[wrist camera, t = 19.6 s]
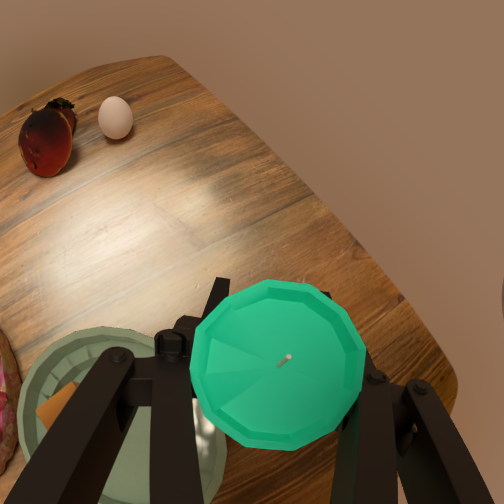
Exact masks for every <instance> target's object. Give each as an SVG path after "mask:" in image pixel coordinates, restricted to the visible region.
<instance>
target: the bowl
mask: <svg viewBox="0 0 504 504" xmlns="http://www.w3.org/2000/svg"><path fill="white" fill-rule="evenodd" d="M116 346H119V347H125V348H128V349H130V350H131V351H132V352H133V354H134V356H135V357H136V358H144V357H152V356H155V347H154V339H153V338H151V337H148V336H146V335H143V334H141V333H138V332H136V331H134V330H131V329H121V328H112V327H104V326H101V327H96V328H90V329H85V330H79V331H75V332H73V333H71V334H69V335H67V336H65V337H63V338H62V339H60V340H58V341H56V342H54V343H52V344H51V345H50V346H49V347H48V348H47V349H46V350H45V351H44V352H43V353H42V354H41V355H40V356H39V357H38V358H37V359H36V360H35V361H34V363H33V364H32V366H31V368H30V370H29V372H28V374H27V376H26V378H25V380H24V382H23V384H22V387H21V392H20V397H19V402H18V408H17V425H18V435H19V442H20V445H21V448H22V451H23V454H24V457H25V460H26V462H27V463H28V461H29V460H30V458H31V457H32V455H33V453H34V452H35V450H36V449H37V447H38V446H39V444H40V442H41V441H42V439H43V438H44V436H45V435H46V433H47V432H48V431H47V429H46V428H45V426H44V424H43V423H42V421H41V420H40V418H39V416H38V414H37V413H36V411H35V410H36V409H37V408H38V407H40V406H41V405H42V404H43V403H45V402H46V401H47V400H48V399H50V398H51V397H52V396H53V395H55V394H56V393H57V392H59V391H60V390H61V389H62V388H64V387H65V386H66V385H67V384H69V383H70V382H71V381H74V382H79V383H81V381H82V380H83V379H84V377H85V376H86V374H87V373H88V371H89V370H90V369H91V367H92V366H93V364H94V363H95V362H96V360H97V359H98V358H99V356H100V355H101V353H102V352H103V351H104V350H106V349H108V348H110V347H116ZM192 402H193V413H194V424H195V434H196V443H197V452H198V460H199V469H200V476H201V484H202V491H203V498H204V504H210V503H211V501H212V500H213V498H214V496H215V494H216V493H217V491H218V489H219V487H220V486H221V484H222V480H223V475H224V469H225V464H226V458H227V439H226V433H224V432H223V431H222V430H220V429H219V428H218V427H216V426H215V425H214V424H212V423H211V422H210V421H208V420H207V419H206V418H205V417H204V414H203V411H202V409H201V406H200V404H199V401H198V399H195V398H192ZM150 421H151V407H139V408H138V410H137V412H136V415H135V417H134V419H133V421H132V424H131V426H130V428H129V431H128V433H127V435H126V437H125V440H124V442H123V444H122V447H121V449H120V451H119V454H118V456H117V458H116V461H115V463H114V465H113V468H112V470H111V472H110V475H109V477H108V480H107V482H106V484H105V487H104V489H103V492H102V494H101V497H100V499H99V501H98V504H150V493H149V457H150Z"/></svg>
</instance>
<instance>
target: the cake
mask: <svg viewBox="0 0 504 504" xmlns="http://www.w3.org/2000/svg"><path fill="white" fill-rule="evenodd" d="M21 387H22V384H21V381H20V378H19V375H18V370H17V365H16V360H15V358H14V356H13V354H12V351H11V349H10V346H9V343H8V340H7V338H6V337H5V336H4V334H3V333H2V332H1V330H0V475H1V474H2V473H3V471H4V470H5V464H6V462H7V461H8V460H9V459H10V458H11V457H13V453H14V449H15V446H16V443H17V440H18V438H19V435H18V425H17V408H18V402H19V397H20V392H21Z"/></svg>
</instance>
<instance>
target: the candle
mask: <svg viewBox="0 0 504 504" xmlns="http://www.w3.org/2000/svg"><path fill="white" fill-rule="evenodd" d="M365 356H366V346H365V344H364V343H363V341H362V339H361V337H360V335H359V334H358V332H357V330H356V328H355V326H354V325H353V323H352V321H351V319H350V317H349V316H348V314H347V312H346V310H345V309H343V308H342V307H341V306H339V305H338V304H336V303H335V302H334V301H332V300H331V299H330V298H328V297H327V296H326V295H324V294H323V293H322V292H320V291H319V290H317V289H316V288H315V287H313V286H312V285H311V284H302V283H294V282H285V281H277V280H269V279H266V280H264V281H262V282H260V283H257V284H255V285H253V286H251V287H248V288H246V289H244V290H242V291H239V292H237V293H235V294H232V295H230V296H228V297H226V298H224V300H223V301H222V302H221V303H220V304H219V305H218V306H217V307H216V308H215V309H214V310H213V311H212V312H211V313H210V314H209V315H208V316H207V317H206V318H205V319H204V320H203V321H202V322H201V323H200V324H199V326H198V327H197V328H196V330H195V336H194V342H193V349H192V355H191V362H190V368H189V370H190V377H191V383H192V385H193V388H194V391H195V393H196V396H197V399H198V401H199V404H200V406H201V409H202V411H203V414H204V417H205V418H206V419H207V420H208V421H210V422H211V423H212V424H214V425H215V426H216V427H218V428H219V429H220V430H222V431H223V432H224V433H226V434H227V435H229V436H230V437H231V438H233V439H234V440H236V441H237V442H238V443H240V444H241V445H243V446H244V447H251V448H260V449H272V450H286V451H294V450H296V449H298V448H300V447H302V446H304V445H307V444H309V443H311V442H313V441H315V440H317V439H318V438H320V437H322V436H324V435H326V434H328V433H330V432H332V431H334V430H335V429H336V427H337V426H338V425H339V423H340V422H341V421H342V419H343V418H344V416H345V415H346V414H347V412H348V411H349V409H350V408H351V406H352V405H353V404H354V402H355V401H356V399H357V398H358V395H359V392H361V389H362V381H363V373H364V365H365Z"/></svg>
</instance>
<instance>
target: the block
mask: <svg viewBox="0 0 504 504" xmlns="http://www.w3.org/2000/svg"><path fill="white" fill-rule="evenodd" d="M79 384H80V383H79V382H74V381H71V382H70V383H69V384H67V385H66V386H65V387H64V388H62V389H61V390H60V391H59V392H57V393H56V394H55V395H53V396H52V397H51V398H50V399H48V400H47V401H46V402H45V403H43V404H42V405H41V406H40V407H38V408H37V409H36V410H35V411H36V413H37V414H38V416H39V418H40V420H41V421H42V423H43V424H44V426H45V428H46V429H47V431H48V430H49V429H50V427H51V425H52V424H53V422H54V421H55V419H56V418H57V416H58V415H59V413H60V412H61V410H62V409H63V408H64V406H65V405H66V403H67V402H68V400H69V399H70V397H71V396H72V394H73V393H74V391H75V390H76V389H77V387H78V386H79Z"/></svg>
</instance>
